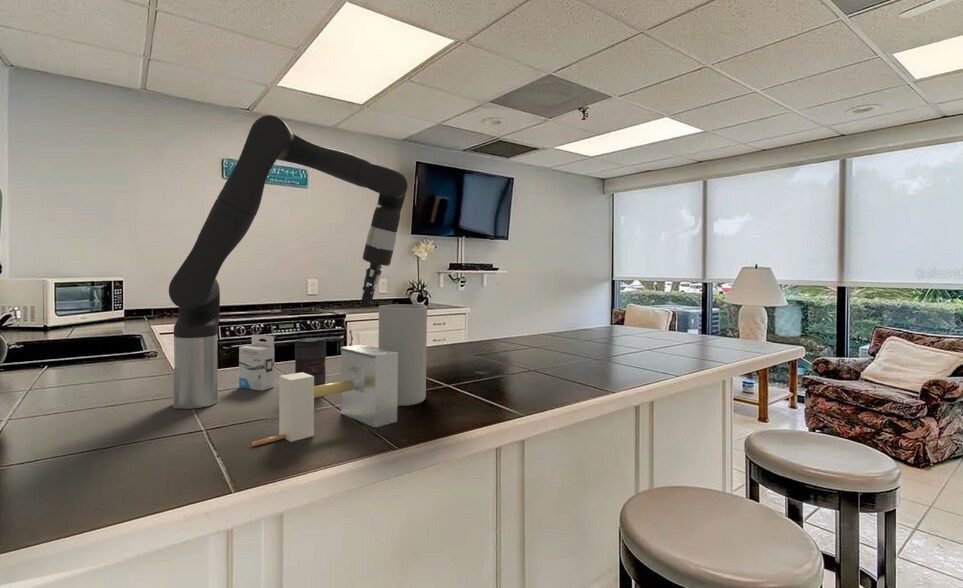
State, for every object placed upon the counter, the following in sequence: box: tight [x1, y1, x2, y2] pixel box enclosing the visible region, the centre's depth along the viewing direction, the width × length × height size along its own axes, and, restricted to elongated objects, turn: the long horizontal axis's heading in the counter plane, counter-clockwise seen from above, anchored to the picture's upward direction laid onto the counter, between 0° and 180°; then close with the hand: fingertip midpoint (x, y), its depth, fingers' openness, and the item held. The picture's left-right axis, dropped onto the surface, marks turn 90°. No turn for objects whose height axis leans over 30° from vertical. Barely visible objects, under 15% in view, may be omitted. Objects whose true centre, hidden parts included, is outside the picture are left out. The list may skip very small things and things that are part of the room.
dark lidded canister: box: [294, 337, 327, 386], centre depth 131 cm, size 8×8×15 cm
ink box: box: [238, 334, 275, 392], centre depth 136 cm, size 9×5×15 cm, turn 71°
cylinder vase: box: [377, 303, 428, 407], centre depth 126 cm, size 12×12×25 cm
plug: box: [251, 372, 353, 447], centre depth 100 cm, size 21×5×12 cm, turn 137°
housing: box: [339, 344, 398, 428], centre depth 111 cm, size 7×14×16 cm, turn 47°
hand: (366, 303), depth 131 cm, fingers open, 8 cm apart
